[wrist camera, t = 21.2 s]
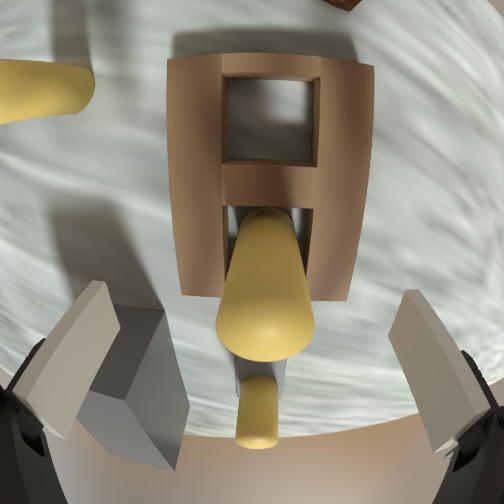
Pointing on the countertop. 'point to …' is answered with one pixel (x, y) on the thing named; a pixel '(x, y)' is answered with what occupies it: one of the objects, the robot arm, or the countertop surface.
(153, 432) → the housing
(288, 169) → the socket board
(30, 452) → the robot arm
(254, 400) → the grey and yellow fixture
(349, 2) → the food container
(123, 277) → the countertop surface
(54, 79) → the peg
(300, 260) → the peg
